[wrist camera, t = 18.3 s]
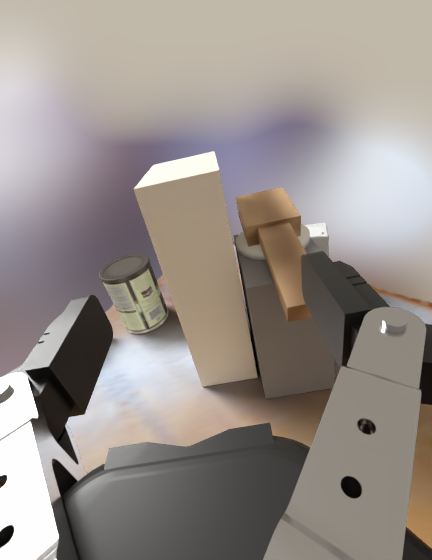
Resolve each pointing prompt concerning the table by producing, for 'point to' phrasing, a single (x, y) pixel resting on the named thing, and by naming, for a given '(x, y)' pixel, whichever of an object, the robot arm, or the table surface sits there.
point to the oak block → (277, 244)
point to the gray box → (282, 330)
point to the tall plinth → (199, 264)
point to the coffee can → (135, 293)
